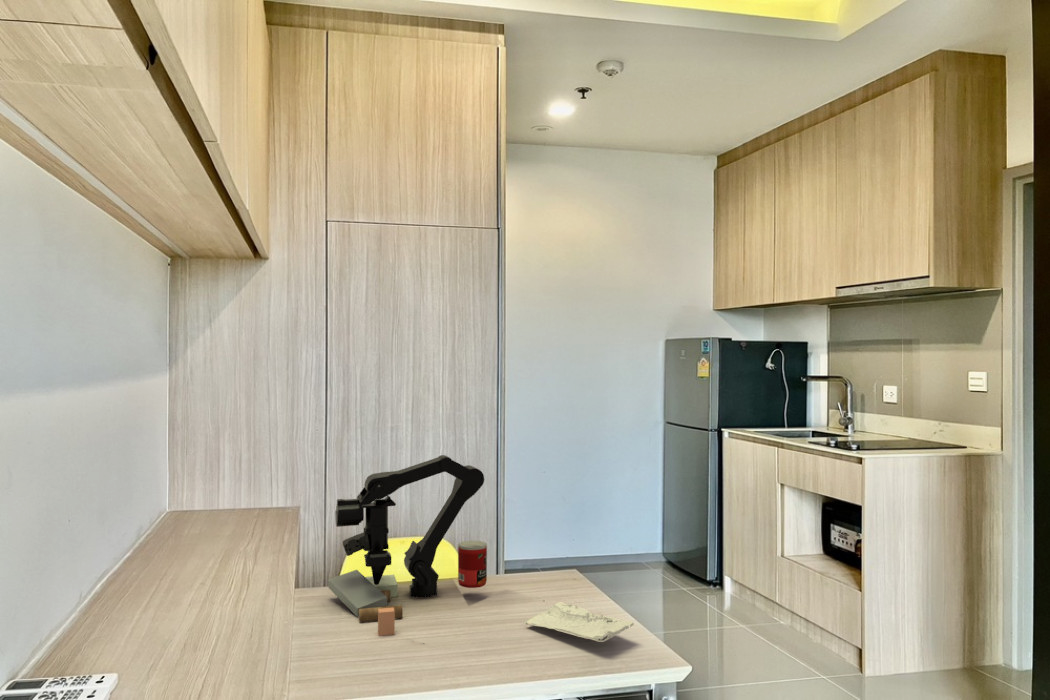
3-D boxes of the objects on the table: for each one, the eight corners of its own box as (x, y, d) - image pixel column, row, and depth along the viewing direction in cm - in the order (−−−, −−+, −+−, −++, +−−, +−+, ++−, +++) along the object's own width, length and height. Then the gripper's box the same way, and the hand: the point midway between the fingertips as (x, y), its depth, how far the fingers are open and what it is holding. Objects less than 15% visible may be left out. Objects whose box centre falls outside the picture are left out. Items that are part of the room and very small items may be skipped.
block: (394, 585, 194) (394, 574, 194) (397, 596, 185) (397, 584, 185) (352, 589, 191) (352, 577, 191) (354, 600, 182) (354, 588, 182)
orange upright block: (393, 630, 162) (393, 607, 162) (394, 634, 160) (394, 611, 160) (377, 631, 161) (378, 608, 161) (378, 635, 159) (378, 612, 159)
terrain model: (609, 649, 153) (609, 626, 153) (519, 628, 165) (519, 607, 165) (638, 625, 167) (638, 603, 168) (553, 607, 179) (553, 587, 179)
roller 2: (401, 618, 171) (401, 605, 172) (402, 618, 169) (402, 605, 170) (359, 622, 169) (358, 608, 170) (359, 622, 166) (359, 609, 167)
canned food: (482, 589, 191) (482, 548, 191) (454, 587, 193) (454, 546, 193) (489, 580, 199) (490, 541, 199) (462, 578, 200) (462, 539, 200)
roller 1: (390, 587, 183) (389, 595, 180) (390, 596, 184) (390, 604, 181) (346, 589, 181) (345, 597, 178) (347, 598, 182) (346, 606, 180)
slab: (356, 577, 187) (356, 569, 187) (387, 605, 175) (387, 597, 175) (328, 587, 182) (328, 579, 181) (357, 617, 170) (357, 608, 170)
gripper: (343, 517, 190) (343, 575, 190) (345, 534, 172) (344, 598, 172) (386, 515, 193) (385, 572, 193) (391, 531, 175) (391, 595, 175)
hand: (376, 584), depth 183 cm, fingers closed
